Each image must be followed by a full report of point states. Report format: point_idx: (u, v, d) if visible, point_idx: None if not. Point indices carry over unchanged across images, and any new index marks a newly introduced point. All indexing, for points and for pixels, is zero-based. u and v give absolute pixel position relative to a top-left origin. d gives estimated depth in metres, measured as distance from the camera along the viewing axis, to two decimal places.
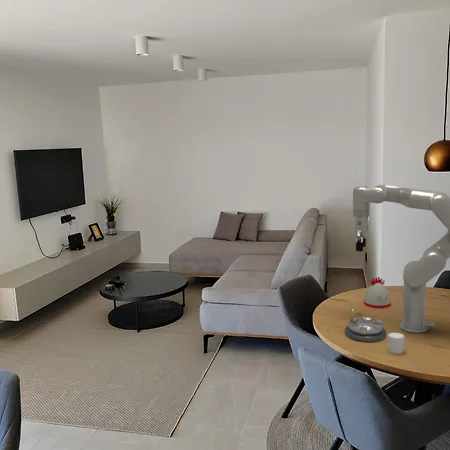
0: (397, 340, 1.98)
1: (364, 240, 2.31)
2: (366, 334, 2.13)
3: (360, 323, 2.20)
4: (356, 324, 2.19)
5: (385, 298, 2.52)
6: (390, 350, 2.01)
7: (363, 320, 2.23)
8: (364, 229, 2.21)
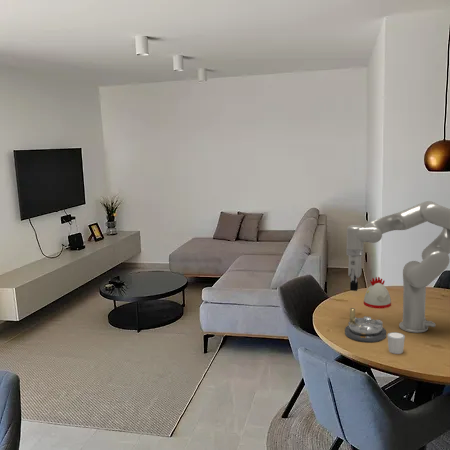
0: (397, 340, 1.98)
1: None
2: (366, 334, 2.13)
3: (360, 323, 2.20)
4: (356, 324, 2.19)
5: (385, 298, 2.52)
6: (390, 350, 2.01)
7: (363, 320, 2.23)
8: (357, 269, 2.19)
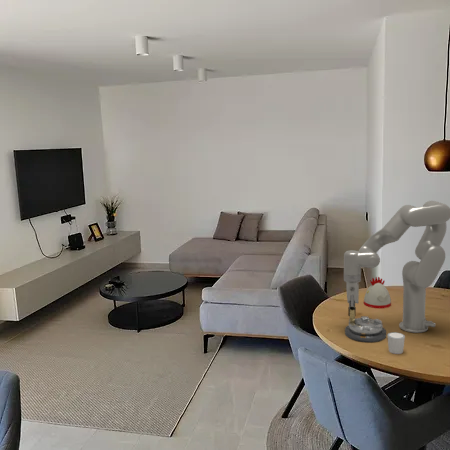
0: (397, 340, 1.98)
1: None
2: (369, 334, 2.13)
3: (360, 323, 2.20)
4: (357, 325, 2.19)
5: (385, 298, 2.52)
6: (390, 350, 2.01)
7: (362, 320, 2.23)
8: (357, 295, 2.17)
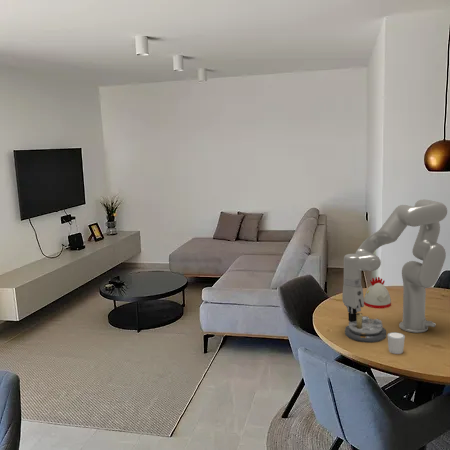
0: (397, 340, 1.98)
1: None
2: (381, 330, 2.16)
3: (363, 325, 2.18)
4: (365, 327, 2.16)
5: (385, 298, 2.52)
6: (390, 350, 2.01)
7: (357, 322, 2.21)
8: (363, 298, 2.13)
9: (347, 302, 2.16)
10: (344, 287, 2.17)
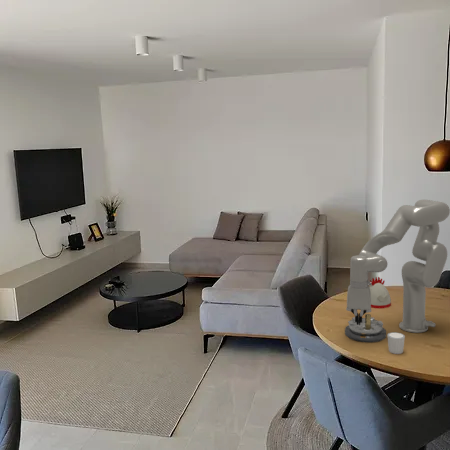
0: (397, 340, 1.98)
1: None
2: None
3: None
4: (371, 327, 2.16)
5: (385, 298, 2.52)
6: (390, 350, 2.01)
7: None
8: None
9: (357, 306, 2.11)
10: (352, 291, 2.10)
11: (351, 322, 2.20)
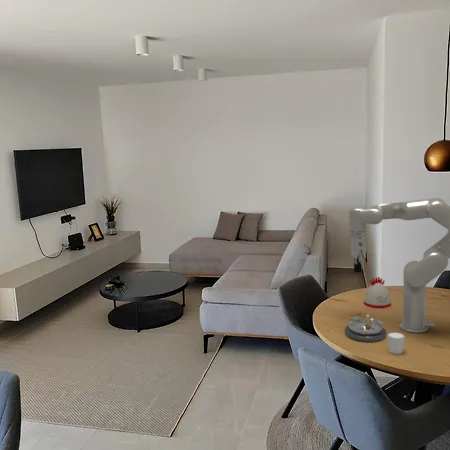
0: (397, 340, 1.98)
1: None
2: None
3: None
4: (371, 327, 2.16)
5: (385, 298, 2.52)
6: (390, 350, 2.01)
7: (357, 324, 2.19)
8: (365, 250, 2.22)
9: (352, 253, 2.28)
10: (351, 239, 2.29)
11: (351, 322, 2.20)
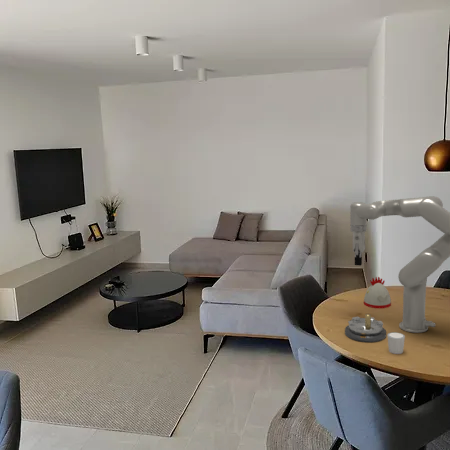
0: (397, 340, 1.98)
1: None
2: None
3: None
4: (371, 327, 2.16)
5: (385, 298, 2.52)
6: (390, 350, 2.01)
7: (357, 324, 2.19)
8: (361, 244, 2.29)
9: None
10: None
11: (351, 322, 2.20)
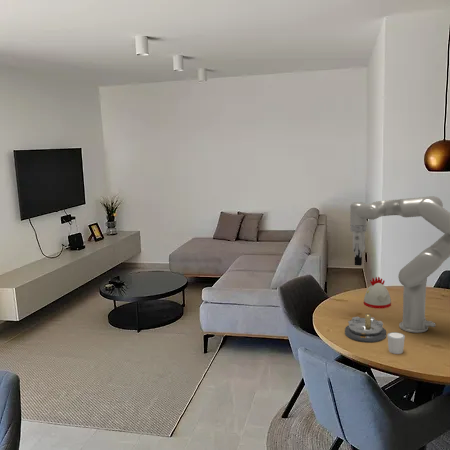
0: (397, 340, 1.98)
1: None
2: None
3: None
4: (371, 327, 2.16)
5: (385, 298, 2.52)
6: (390, 350, 2.01)
7: (357, 324, 2.19)
8: (361, 244, 2.29)
9: None
10: None
11: (351, 322, 2.20)
